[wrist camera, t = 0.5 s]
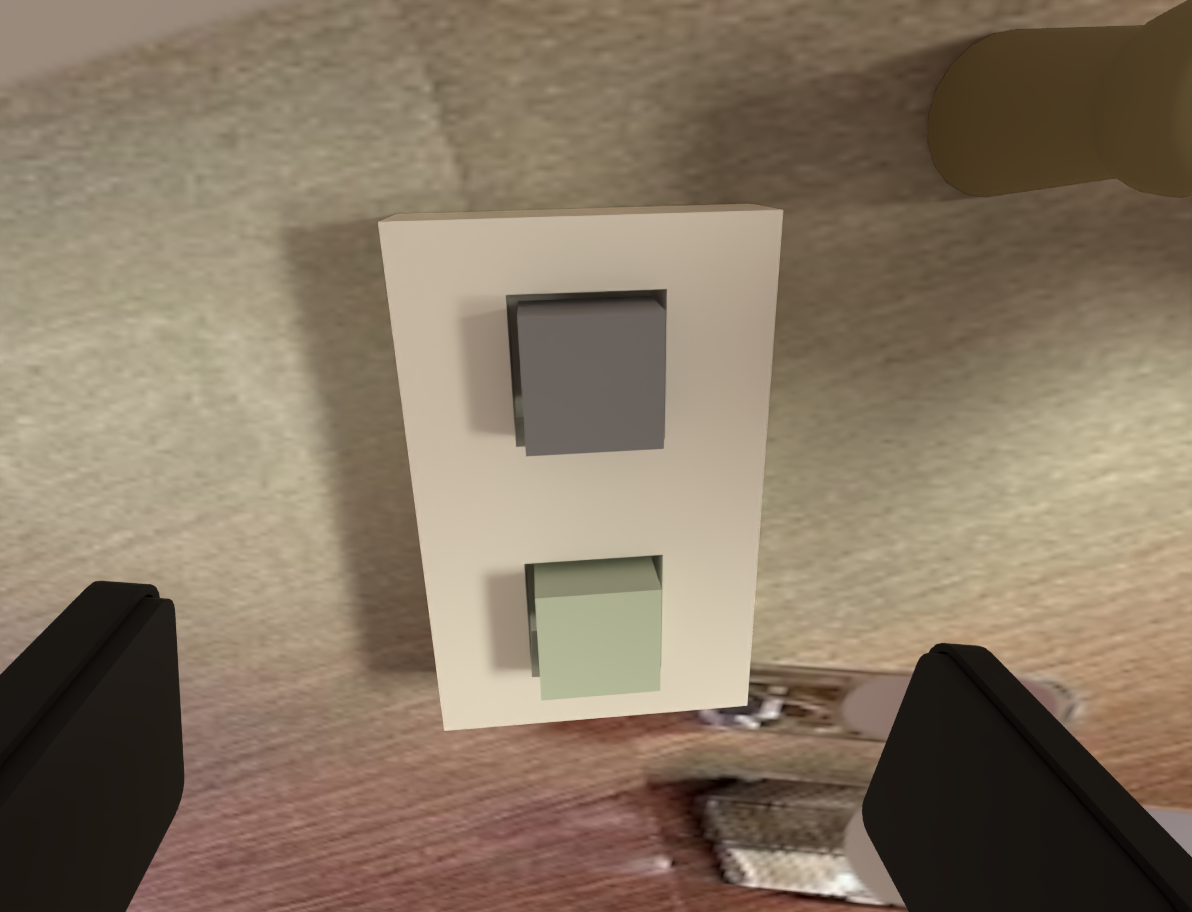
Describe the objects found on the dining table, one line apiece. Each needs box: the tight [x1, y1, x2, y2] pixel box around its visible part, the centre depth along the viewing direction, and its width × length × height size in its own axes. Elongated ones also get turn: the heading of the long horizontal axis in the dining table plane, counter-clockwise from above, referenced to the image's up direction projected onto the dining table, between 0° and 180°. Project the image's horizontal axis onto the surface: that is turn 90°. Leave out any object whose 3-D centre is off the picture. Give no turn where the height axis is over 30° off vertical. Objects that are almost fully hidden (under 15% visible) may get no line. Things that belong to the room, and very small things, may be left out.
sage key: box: [534, 556, 662, 701], centre depth 31 cm, size 5×5×3 cm
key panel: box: [378, 204, 783, 731], centre depth 31 cm, size 14×22×4 cm, turn 1°
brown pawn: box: [928, 0, 1192, 197], centre depth 24 cm, size 6×6×11 cm
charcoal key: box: [517, 296, 666, 456], centre depth 26 cm, size 5×5×3 cm
